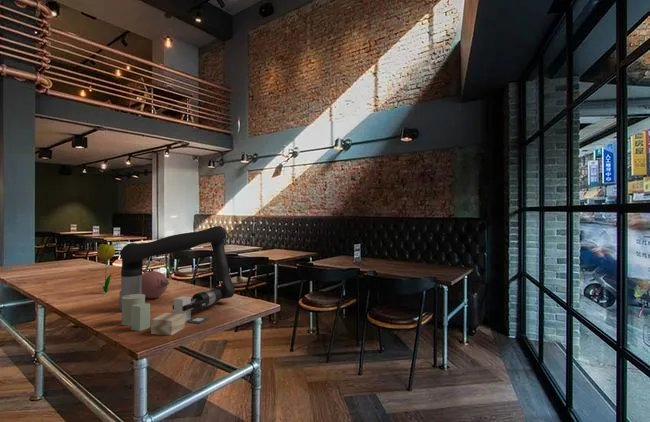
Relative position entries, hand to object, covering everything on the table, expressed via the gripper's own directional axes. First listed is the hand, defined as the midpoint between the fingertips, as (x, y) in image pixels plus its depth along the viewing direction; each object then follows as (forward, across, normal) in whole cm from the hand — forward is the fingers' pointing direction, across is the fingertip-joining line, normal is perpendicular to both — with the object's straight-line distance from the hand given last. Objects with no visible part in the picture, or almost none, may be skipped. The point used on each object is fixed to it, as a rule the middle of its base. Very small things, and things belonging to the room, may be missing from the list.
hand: (178, 308), depth 148 cm
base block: (+10, +5, +6) cm, 13 cm away
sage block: (+12, -8, +6) cm, 16 cm away
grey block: (-3, 0, +6) cm, 7 cm away
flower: (-27, -81, +6) cm, 86 cm away
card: (-4, +8, +6) cm, 11 cm away
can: (+7, -18, +6) cm, 21 cm away
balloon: (-28, -43, +6) cm, 51 cm away
